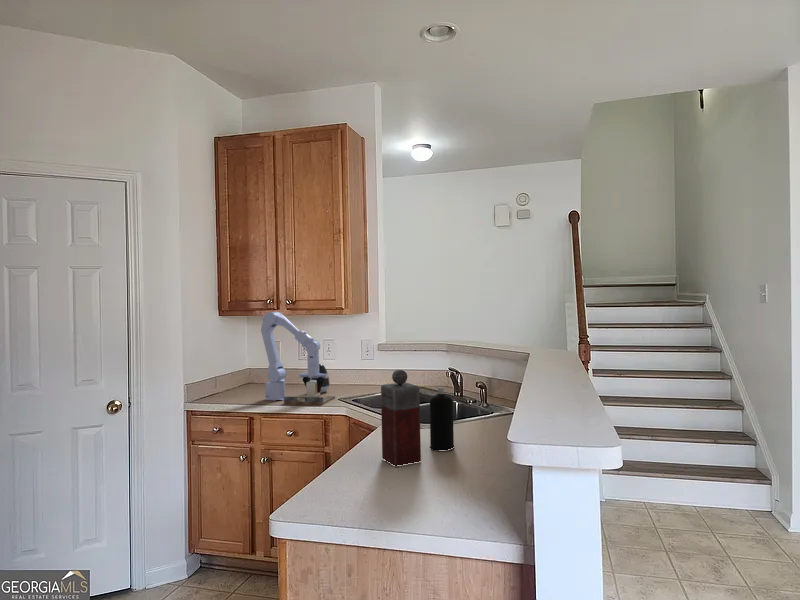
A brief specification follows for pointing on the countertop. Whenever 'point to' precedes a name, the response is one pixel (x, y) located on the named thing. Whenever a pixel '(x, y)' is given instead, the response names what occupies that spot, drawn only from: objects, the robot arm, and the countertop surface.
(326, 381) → the black rounded upright piece
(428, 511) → the countertop surface
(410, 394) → the pepper mill
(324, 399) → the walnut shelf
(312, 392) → the cream box
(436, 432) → the aerosol can
